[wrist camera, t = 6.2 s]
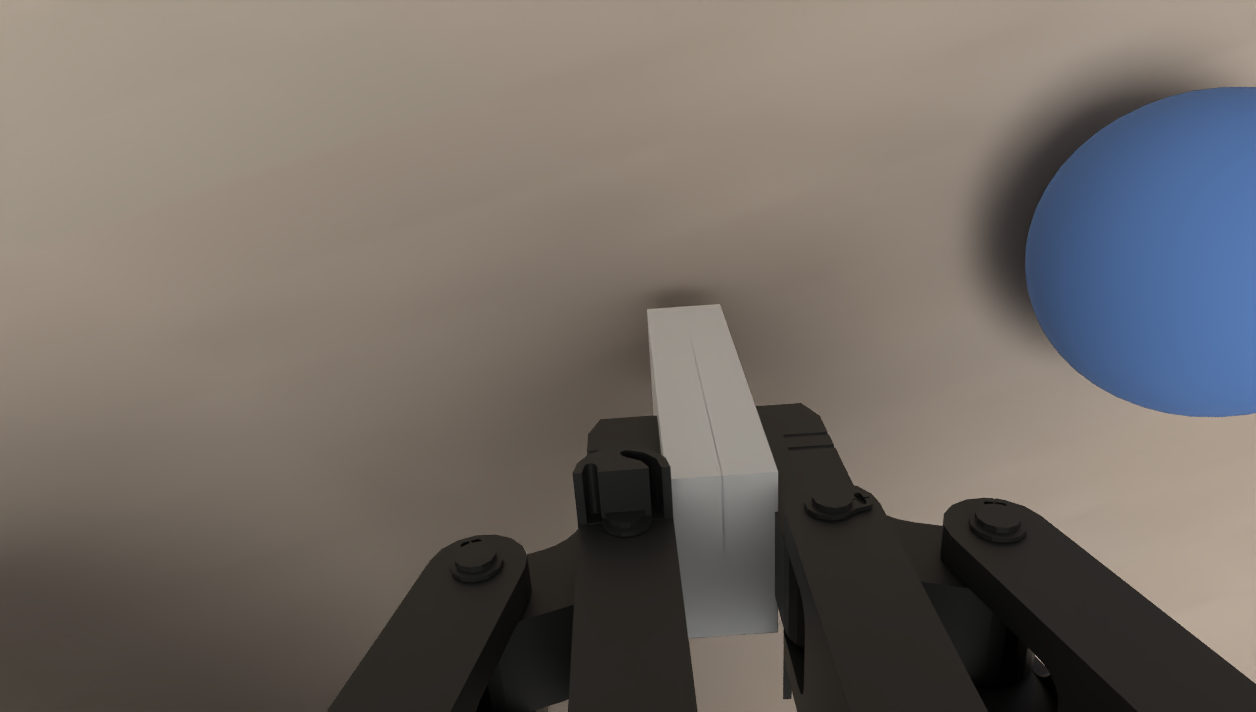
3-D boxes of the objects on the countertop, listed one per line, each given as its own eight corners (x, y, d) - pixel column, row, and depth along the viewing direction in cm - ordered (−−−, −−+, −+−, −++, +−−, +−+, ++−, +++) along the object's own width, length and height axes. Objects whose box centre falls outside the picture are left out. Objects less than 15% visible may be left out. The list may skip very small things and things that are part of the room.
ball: (1414, 423, 11) (985, 434, 16) (1469, 398, 15) (1112, 413, 20) (1355, -11, 12) (952, 121, 16) (1425, 72, 16) (1083, 161, 20)
